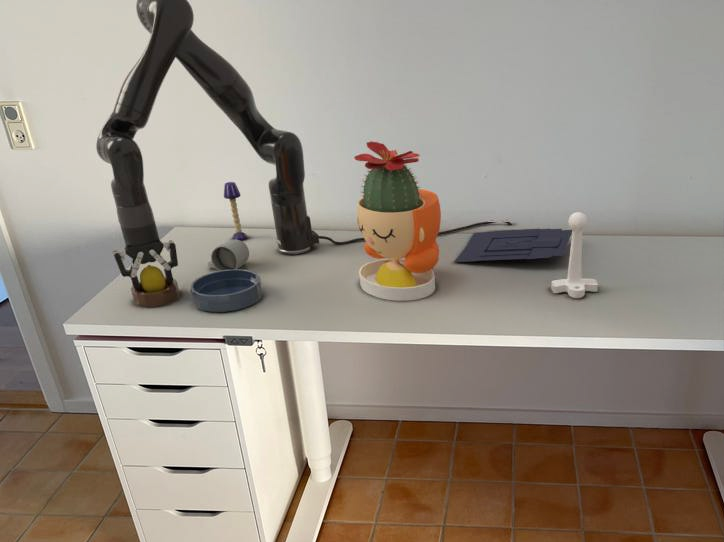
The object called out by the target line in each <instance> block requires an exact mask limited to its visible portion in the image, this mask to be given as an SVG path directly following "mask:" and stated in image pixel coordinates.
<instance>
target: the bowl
mask: <svg viewBox="0 0 724 542" xmlns="http://www.w3.org/2000/svg"><path fill="white" fill-rule="evenodd" d="M189 289H190V290H189V291H190V293H191V298H192V303H193V304H194V306H195V308H197V309H199V310H201V311H206V312H211V313H213V312H214V313H225V312H233V311H238V310H242V309H245V308H248V307H249V306H252V305H254V304H256V303H257V302H259V301H260V300H261V298H262V297H263V293H264V292H263V285H262V280H261V276H260V275H259V274H258V273H257V272H254V271H252V270H248V269H240V268H238V269H231V270H222V271H218V270H217V271H213V272H209V273H206V274H203V275H202V276H200V277H198V278H196V279H194V281H192V282H191V284H190V287H189Z"/></svg>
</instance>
